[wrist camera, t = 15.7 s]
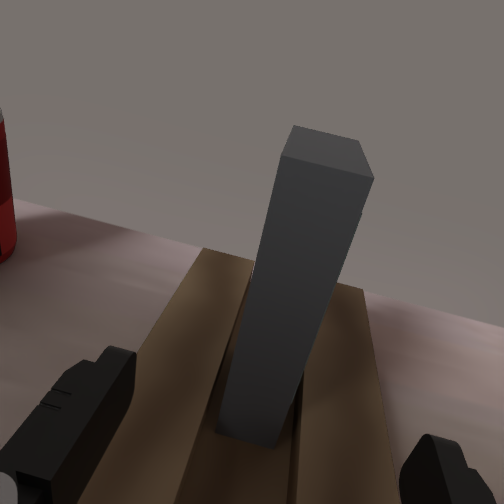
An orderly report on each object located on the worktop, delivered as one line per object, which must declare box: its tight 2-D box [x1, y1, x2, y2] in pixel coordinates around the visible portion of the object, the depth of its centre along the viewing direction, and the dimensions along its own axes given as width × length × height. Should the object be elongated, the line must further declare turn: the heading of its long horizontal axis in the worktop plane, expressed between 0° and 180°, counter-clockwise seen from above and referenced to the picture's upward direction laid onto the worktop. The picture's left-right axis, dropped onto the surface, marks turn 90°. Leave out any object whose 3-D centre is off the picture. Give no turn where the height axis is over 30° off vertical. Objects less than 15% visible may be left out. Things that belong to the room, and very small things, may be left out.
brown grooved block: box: [77, 248, 400, 504], centre depth 21 cm, size 13×22×4 cm, turn 170°
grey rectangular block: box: [215, 125, 374, 450], centre depth 18 cm, size 3×6×14 cm, turn 170°
